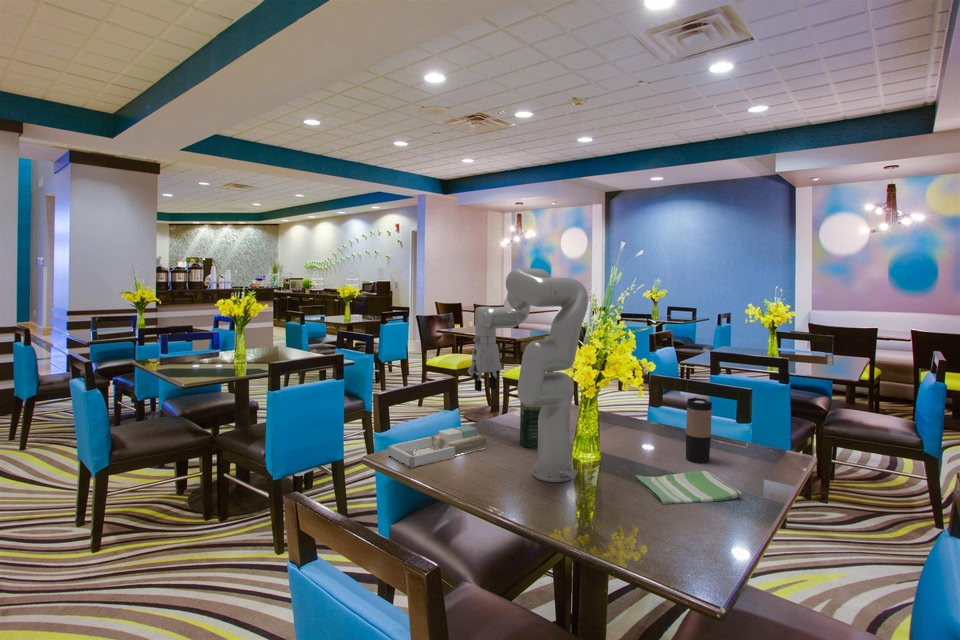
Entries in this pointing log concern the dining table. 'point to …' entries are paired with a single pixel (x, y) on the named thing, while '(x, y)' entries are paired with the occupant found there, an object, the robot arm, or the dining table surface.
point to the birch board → (461, 443)
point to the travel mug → (698, 430)
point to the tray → (419, 452)
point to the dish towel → (688, 488)
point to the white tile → (450, 435)
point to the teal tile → (467, 431)
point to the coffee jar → (529, 425)
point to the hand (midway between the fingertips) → (485, 389)
